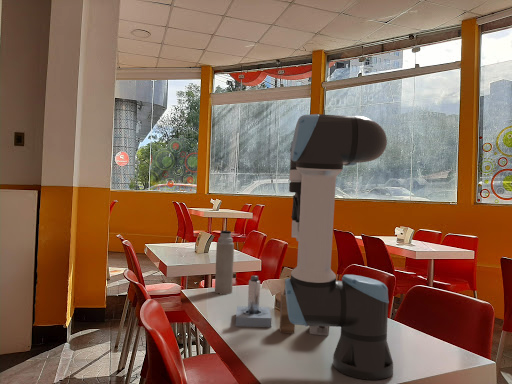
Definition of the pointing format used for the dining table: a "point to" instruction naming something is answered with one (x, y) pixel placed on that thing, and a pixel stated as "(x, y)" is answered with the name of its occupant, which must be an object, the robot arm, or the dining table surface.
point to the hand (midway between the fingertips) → (297, 239)
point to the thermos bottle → (224, 263)
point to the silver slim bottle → (253, 295)
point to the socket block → (253, 317)
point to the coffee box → (319, 330)
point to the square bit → (285, 316)
